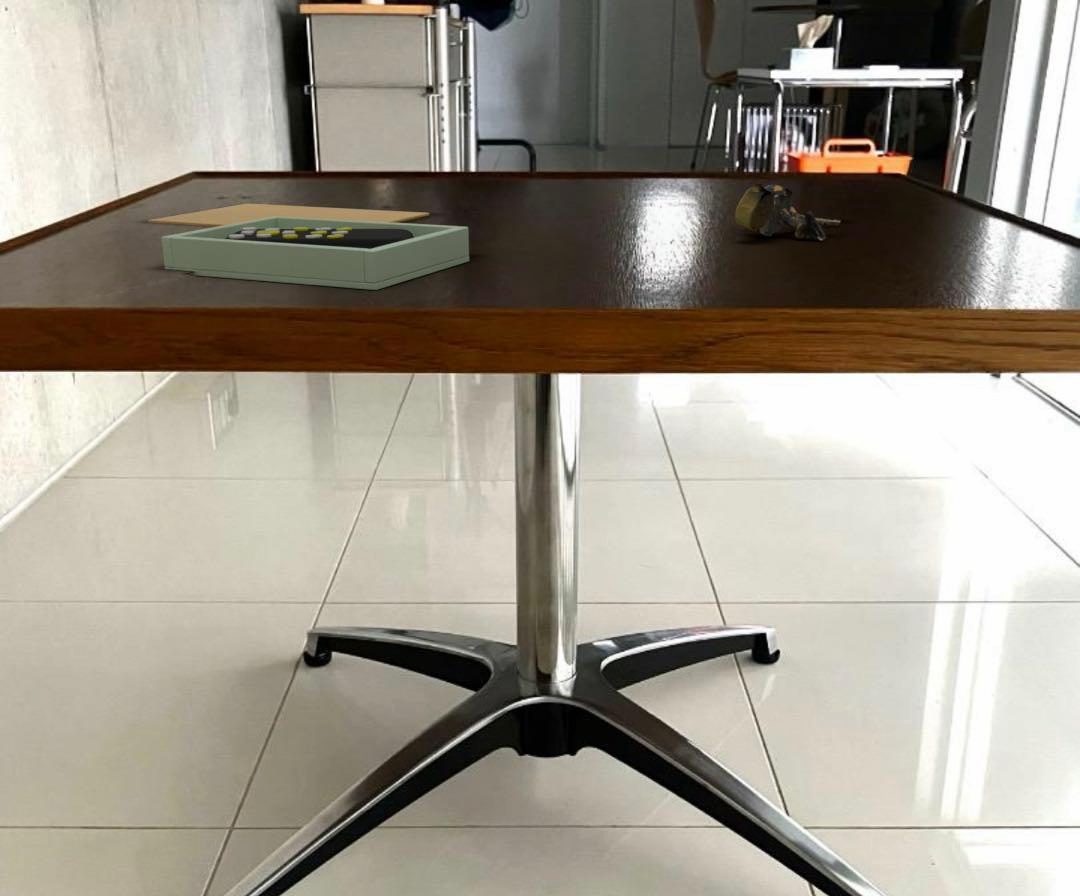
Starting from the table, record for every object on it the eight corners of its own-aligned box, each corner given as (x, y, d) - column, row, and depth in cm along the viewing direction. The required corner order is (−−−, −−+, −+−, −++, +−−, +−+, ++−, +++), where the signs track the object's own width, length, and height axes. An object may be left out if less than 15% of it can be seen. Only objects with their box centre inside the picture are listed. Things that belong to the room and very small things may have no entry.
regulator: (801, 230, 107) (700, 214, 96) (822, 187, 105) (721, 166, 94) (869, 268, 103) (771, 256, 92) (891, 223, 101) (794, 206, 90)
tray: (164, 273, 82) (160, 236, 81) (276, 248, 93) (273, 215, 92) (376, 290, 76) (374, 251, 75) (469, 261, 87) (468, 226, 86)
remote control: (407, 267, 81) (406, 237, 81) (217, 268, 81) (214, 237, 81) (417, 254, 87) (416, 225, 86) (239, 254, 87) (236, 225, 86)
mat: (148, 225, 106) (147, 220, 105) (247, 208, 117) (247, 203, 117) (344, 238, 98) (344, 231, 98) (429, 218, 110) (429, 212, 110)
